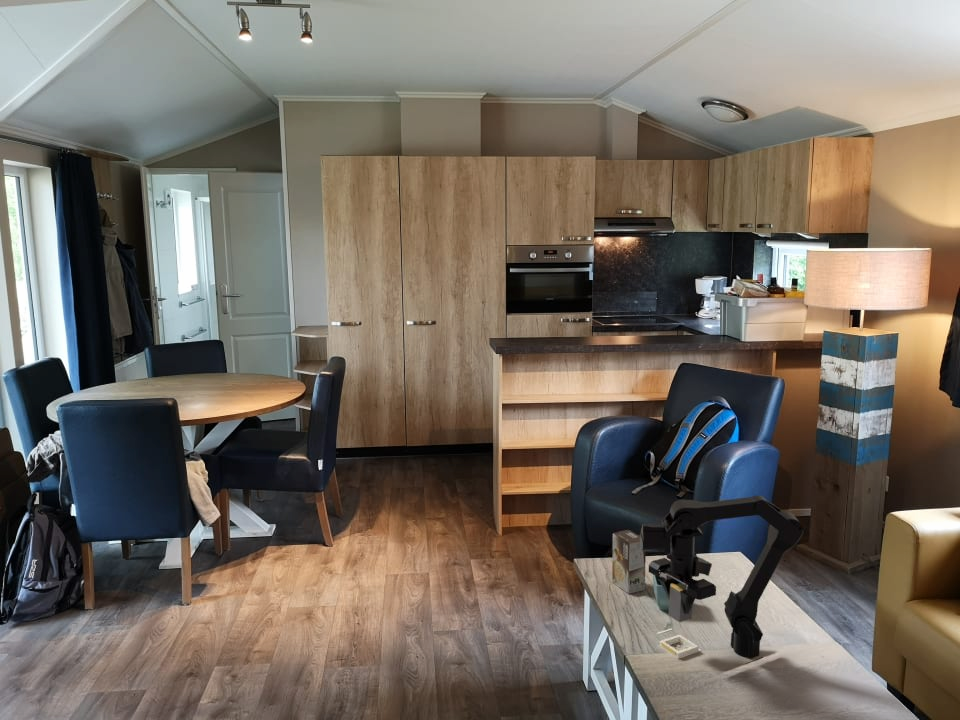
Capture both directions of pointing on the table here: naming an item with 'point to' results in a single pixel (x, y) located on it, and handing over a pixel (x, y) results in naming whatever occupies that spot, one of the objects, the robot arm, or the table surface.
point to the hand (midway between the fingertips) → (680, 609)
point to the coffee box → (628, 562)
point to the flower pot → (660, 594)
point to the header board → (678, 653)
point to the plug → (677, 603)
